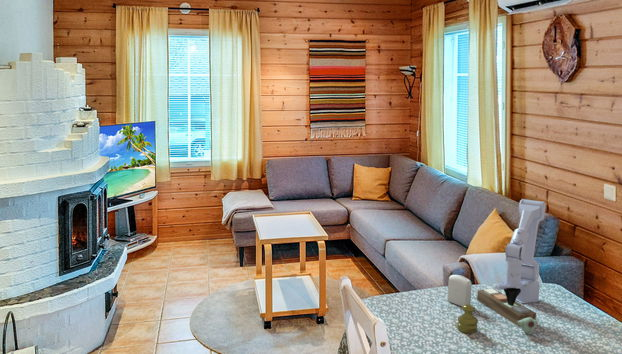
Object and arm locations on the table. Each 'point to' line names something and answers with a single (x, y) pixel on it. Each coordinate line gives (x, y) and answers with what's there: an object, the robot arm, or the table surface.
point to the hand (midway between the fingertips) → (510, 304)
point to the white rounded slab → (459, 290)
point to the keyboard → (503, 308)
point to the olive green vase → (467, 320)
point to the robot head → (528, 324)
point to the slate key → (521, 309)
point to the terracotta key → (500, 297)
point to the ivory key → (491, 292)
